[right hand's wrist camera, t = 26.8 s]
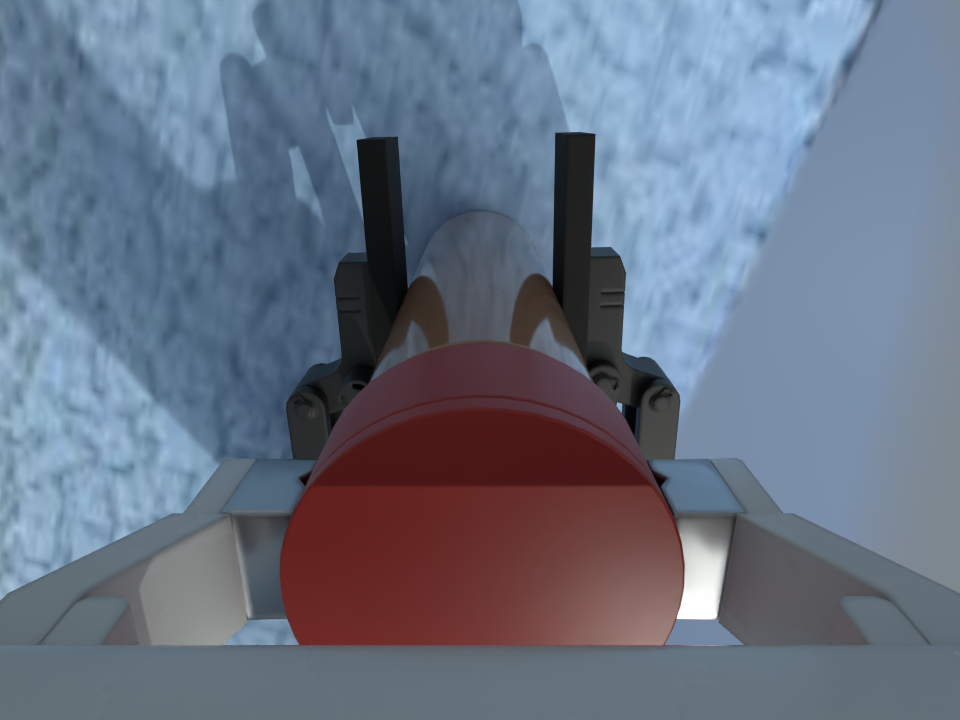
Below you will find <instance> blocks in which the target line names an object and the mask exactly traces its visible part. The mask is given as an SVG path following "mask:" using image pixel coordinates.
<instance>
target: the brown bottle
mask: <svg viewBox="0 0 960 720" xmlns="http://www.w3.org/2000/svg"><path fill="white" fill-rule="evenodd" d="M467 344H500V345H506V346H513V347H519V348H524V349H527V350H531V351H534V352H538V353H541V354H544V355H547V356H549V357H551V358H554V359H556V360H558V361H560V362H563V363H565V364H567V365H568V366H570V367H572V368H573V369H575V370H577V371H578V372H580V373H582V374H583V375H585V376H586V377H587V378H588V379H590V380H591V381H592V382H593V380H592V377H591V375H590V373H589V371H588V368H587V366H586V364H585V361H584V359H583V357H582V354H581V352H580V350H579V348H578V345H577V343H576V341H575V338H574V336H573V334H572V332H571V329H570V327H569V325H568V322H567V320H566V318H565V316H564V313H563V311H562V309H561V306H560V304H559V302H558V300H557V297H556V295H555V293H554V290H553V288H552V286H551V283H550V281H549V279H548V277H547V274H546V272H545V270H544V267H543V265H542V263H541V261H540V258H539V256H538V254H537V251H536V249H535V247H534V245H533V242H532V241H531V239H530V237H529V236H528V234H527V233H526V232H525V231H524V230H523V229H522V228H521V227H520V226H519V225H518V224H517V223H516V222H514V221H513V220H511V219H509V218H508V217H506V216H503V215H501V214H498V213H494V212H490V211H471V212H466V213H463V214H459V215H457V216H455V217H453V218H451V219H449V220H448V221H446V222H445V223H444V224H443V225H441V226H440V227H439V228H438V229H437V230H436V231H435V233H434V234H433V235H432V237H431V238H430V240H429V242H428V244H427V246H426V248H425V250H424V253H423V255H422V258H421V260H420V262H419V265H418V267H417V269H416V272H415V274H414V276H413V279H412V281H411V283H410V286H409V288H408V291H407V293H406V295H405V298H404V300H403V302H402V305H401V307H400V309H399V312H398V314H397V316H396V319H395V321H394V324H393V326H392V328H391V331H390V333H389V335H388V338H387V340H386V342H385V345H384V347H383V349H382V352H381V354H380V357H379V359H378V361H377V364H376V366H375V368H374V371H373V373H372V375H371V378H370V380H369V383H370V382H371V381H372V380H374V379H375V378H377V377H378V376H379V375H381V374H382V373H384V372H385V371H387V370H388V369H390V368H391V367H393V366H395V365H397V364H399V363H401V362H403V361H405V360H407V359H409V358H412V357H415V356H417V355H420V354H423V353H426V352H429V351H432V350H436V349H441V348H445V347H450V346H456V345H467ZM369 383H368V384H369ZM593 383H594V382H593Z"/></svg>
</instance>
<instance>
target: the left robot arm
mask: <svg viewBox="0 0 960 720" xmlns="http://www.w3.org/2000/svg"><path fill="white" fill-rule="evenodd" d="M357 149H358V161H359V172H360V184H361V195H362V206H363V218H364V229H365V241H366V252H367V253H348V254H347V255H346V256H345V257H344V258H343V259H342V260H341V261H340V262H339V264H338V267H337V270H336V274H335V277H334V285H335V295H336V304H337V310H338V323H339V332H340V341H341V351H342V358H340V359H339V360H337V361H334V362H331V363H329V364H323V363H320V364H316V365H314V366H312V367H311V368H310V369H309V370H308V372H307V373H306V374H305V376H304V377H303V379H302V380H301V381H300V383H299V384H298V386H297V387H296V389H295V390H294V392H293V393H292V395H291V396H290V398H289V400H288V401H287V404H286V412H287V419H288V425H289V432H290V439H291V445H292V452H293V459H299V460H318V458H319V456H320V454H321V452H322V450H323V448H324V446H325V444H326V442H327V440H328V438H329V435H330V433H331V431H332V429H333V427H334V426H335V424H336V422H337V421H338V419H339V417H340V416H341V414H342V412H343V411H344V409H345V408H346V407H347V406H348V405H349V403H350V402H351V401H352V400H353V398H354V397H355V396H356V395H357V394H358V393H359V392H360V391H361V390H362V389H363V388H364V387H366V386H367V385H368V383H369V380H370V378H371V375H372V373H373V371H374V368H375V366H376V364H377V361H378V359H379V357H380V354H381V352H382V349H383V347H384V345H385V342H386V340H387V338H388V335H389V333H390V331H391V328H392V326H393V324H394V321H395V319H396V316H397V314H398V312H399V309H400V307H401V305H402V302H403V300H404V298H405V295H406V293H407V291H408V286H407V271H406V256H405V240H404V225H403V210H402V195H401V180H400V165H399V150H398V137H373V138H366V139H360V140H357ZM594 158H595V134H592V133H583V132H568V133H555V184H554V240H553V290H554V293H555V295H556V297H557V300H558V302H559V304H560V306H561V309H562V311H563V313H564V316H565V318H566V320H567V322H568V325H569V327H570V329H571V332H572V334H573V336H574V338H575V341H576V343H577V345H578V348H579V350H580V352H581V354H582V357H583V359H584V361H585V364H586V366H587V368H588V371H589V373H590V375H591V377H592V380H593V382H594V384H596V385H597V386H598V387H599V388H601V390H602V391H603V392H604V393H605V394H606V395H607V396H608V397H609V398H610V399H611V400H612V401H613V402H614V403H615V405H616V404H617V402H619V403H622V415H623V416H624V418H625V419H626V421H627V423H628V425H629V427H630V429H631V431H632V433H633V435H634V437H635V439H636V441H637V443H638V445H639V447H640V449H641V452H642V454H643V456H644V458H645V460H646V461H647V460H674V458H675V448H676V439H677V429H678V419H679V409H680V395H679V393H678V392H677V390H676V389H675V387H674V386H673V384H672V383H671V382H670V380H669V379H668V378H667V376H666V375H665V373H664V372H663V371H662V369H661V368H660V367H659V365H658V364H657V363H656V361H654V360H653V359H651V358H648V357H639V358H637V357H634V356H631V355H628V354H625V353H623V352H622V348H621V347H622V330H623V313H624V296H625V293H624V291H625V279H626V272H625V269H624V266H623V263H622V260H621V258H620V256H619V255H618V254H617V253H616V252H615V251H614V250H613V249H612V248H611V247H593V248H591V236H592V210H593V184H594Z"/></svg>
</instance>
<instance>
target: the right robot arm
mask: <svg viewBox="0 0 960 720" xmlns="http://www.w3.org/2000/svg"><path fill="white" fill-rule="evenodd" d="M317 461H318V460H299V459H258V458H242V459H226V460H224V461H223V462H222V463H221V464H220V466H219V467H218V468H217V470H216V471H215V472H214V474H213V475H212V476H211V477H210V479H209V480H208V481H207V483H206V484H205V485H204V487H203V488H202V489H201V490H200V492H199V493H198V494H197V496H196V497H195V498H194V500H193V501H192V502H191V504H190V505H189V506H188V507H187V509H186V510H185V511H184V513H183V514H171V515H169V516H167V517H165V518H163V519H161V520H159V521H157V522H154V523H152V524H150V525H148V526H146V527H144V528H142V529H140V530H138V531H136V532H134V533H132V534H130V535H128V536H126V537H123V538H121V539H119V540H117V541H115V542H113V543H111V544H109V545H107V546H105V547H103V548H101V549H99V550H97V551H95V552H92V553H90V554H88V555H86V556H84V557H82V558H80V559H78V560H76V561H74V562H72V563H70V564H68V565H66V566H64V567H61V568H59V569H57V570H55V571H53V572H51V573H49V574H47V575H45V576H43V577H41V578H39V579H37V580H35V581H32V582H30V583H28V584H26V585H24V586H22V587H20V588H18V589H16V590H14V591H12V592H10V593H8V594H7V595H6V596H5V597H4V598H3V599H2V600H1V601H0V720H960V593H958V592H956V591H954V590H952V589H950V588H947V587H945V586H943V585H941V584H939V583H937V582H935V581H933V580H931V579H929V578H927V577H925V576H923V575H920V574H918V573H916V572H914V571H912V570H910V569H908V568H906V567H904V566H902V565H900V564H897V563H895V562H893V561H891V560H889V559H887V558H885V557H883V556H881V555H879V554H877V553H875V552H873V551H871V550H868V549H866V548H864V547H862V546H860V545H858V544H856V543H854V542H852V541H850V540H848V539H846V538H843V537H841V536H839V535H837V534H835V533H833V532H831V531H829V530H827V529H825V528H823V527H820V526H819V525H816V524H814V523H812V522H810V521H808V520H806V519H804V518H802V517H800V516H798V515H796V514H784V513H783V512H782V511H781V509H780V508H779V507H778V506H777V504H776V503H775V502H774V501H773V499H772V498H771V497H770V496H769V494H768V493H767V492H766V490H765V489H764V488H763V487H762V485H761V484H760V483H759V481H758V480H757V479H756V478H755V476H754V475H753V474H752V473H751V471H750V470H749V469H748V468H747V466H746V465H745V464H744V462H743V461H742V460H740V459H737V458H724V459H678V460H647V461H646V462H647V464H648V466H649V468H650V470H651V472H652V474H653V476H654V478H655V480H656V482H657V484H658V486H659V488H660V490H661V493H662V495H663V497H664V499H665V501H666V503H667V505H668V507H669V509H670V511H671V513H672V515H673V517H674V519H675V522H676V525H677V528H678V531H679V535H680V538H681V541H682V547H683V554H684V561H685V580H684V590H683V596H682V601H681V607H680V610H679V613H678V616H677V619H708V620H719V623H720V624H721V625H722V626H723V627H725V628H726V629H727V630H728V631H729V632H730V633H731V634H733V635H734V636H735V637H736V638H737V639H738V640H739V641H741V642H742V643H743V644H744V645H223V644H224V643H225V642H226V641H227V640H228V639H229V638H231V637H232V636H233V635H234V634H235V633H236V632H237V631H239V630H240V629H241V628H242V627H243V626H244V625H245V624H246V623H247V620H257V619H287V617H286V613H285V609H284V605H283V601H282V597H281V589H280V579H279V567H280V552H281V548H282V543H283V539H284V535H285V531H286V528H287V526H288V523H289V521H290V518H291V516H292V514H293V511H294V509H295V507H296V505H297V502H298V500H299V498H300V496H301V494H302V492H303V490H304V488H305V486H306V484H307V482H308V479H309V477H310V475H311V473H312V471H313V469H314V467H315V465H316V463H317Z"/></svg>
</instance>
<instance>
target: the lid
mask: <svg viewBox="0 0 960 720" xmlns="http://www.w3.org/2000/svg"><path fill="white" fill-rule="evenodd" d="M279 579H280V589H281V597H282V601H283V605H284V609H285V613H286V617H287V619H288V622H289V624H290V626H291V629H292V631H293V634H294V636H295V638H296V640H297V641H298V643H299V644H300V645H665V643H666V641H667V639H668V637H669V635H670V633H671V631H672V629H673V627H674V624H675V622H676V619H677V616H678V613H679V610H680V607H681V601H682V596H683V590H684V580H685V561H684V554H683V547H682V541H681V538H680V535H679V531H678V528H677V525H676V522H675V519H674V517H673V515H672V513H671V511H670V509H669V507H668V505H667V503H666V501H665V499H664V497H663V495H662V493H661V490H660V488H659V486H658V484H657V482H656V480H655V478H654V476H653V474H652V472H651V470H650V468H649V466H648V464H647V462H646V460H645V458H644V456H643V454H642V452H641V449H640V447H639V445H638V443H637V441H636V439H635V437H634V435H633V433H632V431H631V429H630V427H629V425H628V423H627V421H626V419H625V418H624V416H623V415H622V413H621V412H620V411H619V409H618V408H617V406H616V405H615V403H614V402H613V401H612V400H611V399H610V398H609V397H608V396H607V395H606V394H605V393H604V392H603V391H602V390H601V388H599V387H598V386H597V385H596V384H594V383H593V382H592V381H591V380H590V379H588V378H587V377H586V376H585V375H583V374H582V373H580V372H578V371H577V370H575V369H573V368H572V367H570V366H568V365H567V364H565V363H563V362H560V361H558V360H556V359H554V358H551V357H549V356H547V355H544V354H541V353H538V352H534V351H531V350H527V349H524V348H519V347H513V346H506V345H500V344H467V345H456V346H450V347H445V348H441V349H436V350H432V351H429V352H426V353H423V354H420V355H417V356H415V357H412V358H409V359H407V360H405V361H403V362H401V363H399V364H397V365H395V366H393V367H391V368H390V369H388V370H387V371H385V372H384V373H382V374H381V375H379V376H378V377H377V378H375V379H374V380H372V381H371V382H370V383H369V384H368V385H367V386H366V387H364V388H363V389H362V390H361V391H360V392H359V393H358V394H357V395H356V396H355V397H354V398H353V400H352V401H351V402H350V403H349V405H348V406H347V407H346V408H345V409H344V411H343V412H342V414H341V416H340V417H339V419H338V421H337V422H336V424H335V426H334V427H333V429H332V431H331V433H330V435H329V438H328V440H327V442H326V444H325V446H324V448H323V450H322V452H321V454H320V456H319V458H318V461H317V463H316V465H315V467H314V469H313V471H312V473H311V475H310V477H309V479H308V482H307V484H306V486H305V488H304V490H303V492H302V494H301V496H300V498H299V500H298V502H297V505H296V507H295V509H294V511H293V514H292V516H291V518H290V521H289V523H288V526H287V528H286V531H285V535H284V539H283V543H282V548H281V552H280V567H279Z"/></svg>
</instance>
